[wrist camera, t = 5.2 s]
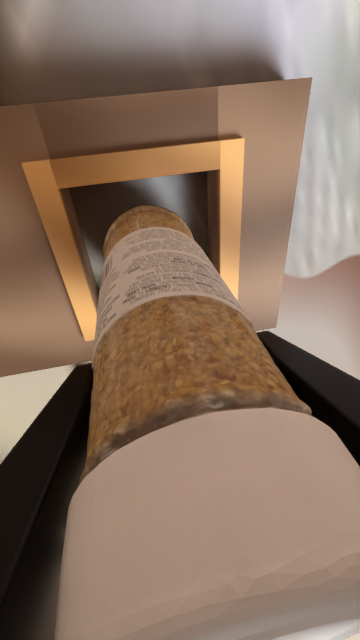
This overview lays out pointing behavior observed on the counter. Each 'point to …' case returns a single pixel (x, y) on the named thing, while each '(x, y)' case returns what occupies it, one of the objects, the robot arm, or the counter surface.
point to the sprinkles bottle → (200, 468)
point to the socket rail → (129, 164)
